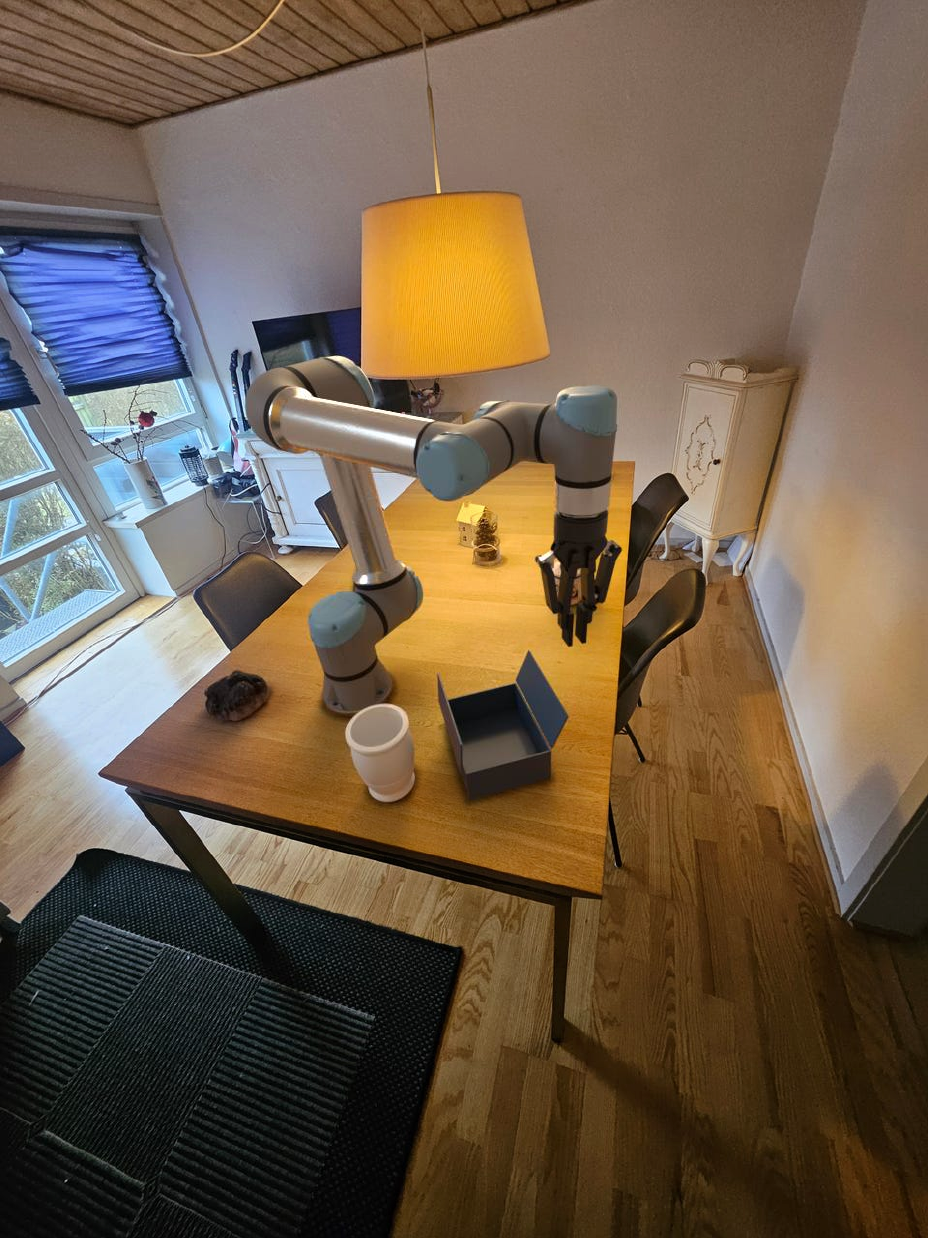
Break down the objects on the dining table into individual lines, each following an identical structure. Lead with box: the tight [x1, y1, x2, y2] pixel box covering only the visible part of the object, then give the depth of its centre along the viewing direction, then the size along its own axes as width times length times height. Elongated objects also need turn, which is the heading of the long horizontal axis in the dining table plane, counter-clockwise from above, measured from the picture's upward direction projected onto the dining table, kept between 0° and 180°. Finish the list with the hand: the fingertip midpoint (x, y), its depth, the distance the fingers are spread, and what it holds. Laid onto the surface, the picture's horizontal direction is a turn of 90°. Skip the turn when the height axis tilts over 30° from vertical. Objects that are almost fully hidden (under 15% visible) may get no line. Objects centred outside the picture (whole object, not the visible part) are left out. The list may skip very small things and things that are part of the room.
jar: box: [344, 703, 416, 803], centre depth 85 cm, size 11×10×15 cm
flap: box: [515, 649, 570, 749], centre depth 88 cm, size 18×7×1 cm
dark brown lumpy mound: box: [203, 669, 271, 722], centre depth 108 cm, size 13×14×10 cm
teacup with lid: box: [552, 560, 582, 606], centre depth 130 cm, size 12×9×12 cm
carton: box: [436, 672, 552, 802], centre depth 89 cm, size 18×16×15 cm
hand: (573, 640), depth 82 cm, fingers closed
